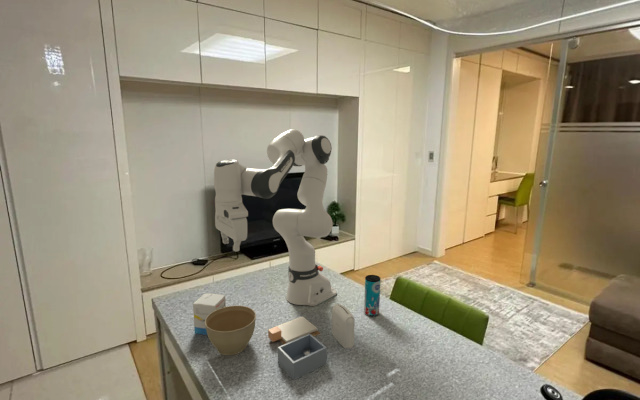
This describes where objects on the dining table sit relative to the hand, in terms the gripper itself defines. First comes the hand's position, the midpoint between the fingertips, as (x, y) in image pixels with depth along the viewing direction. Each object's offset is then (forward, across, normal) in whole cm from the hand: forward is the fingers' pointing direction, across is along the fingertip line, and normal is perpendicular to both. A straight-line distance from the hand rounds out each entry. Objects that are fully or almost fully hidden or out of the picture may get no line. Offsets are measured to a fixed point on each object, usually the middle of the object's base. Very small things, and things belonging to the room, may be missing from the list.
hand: (230, 247), depth 116 cm
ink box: (+31, -5, -7) cm, 33 cm away
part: (+30, +29, +12) cm, 44 cm away
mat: (+31, +16, +16) cm, 38 cm away
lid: (+31, +16, +14) cm, 37 cm away
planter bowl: (+31, +10, -5) cm, 33 cm away
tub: (+31, +31, +9) cm, 45 cm away
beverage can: (+31, +22, +48) cm, 61 cm away
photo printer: (+31, +29, +27) cm, 51 cm away
